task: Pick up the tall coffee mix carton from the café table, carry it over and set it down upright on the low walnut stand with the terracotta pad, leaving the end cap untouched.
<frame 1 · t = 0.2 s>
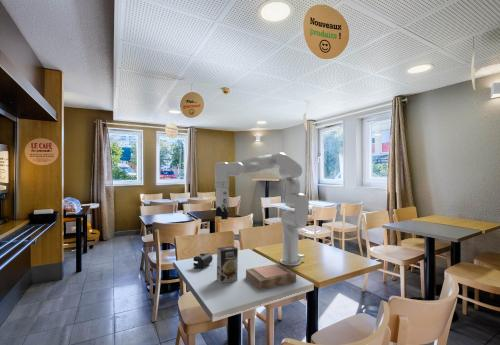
hand: (221, 217, 132), 31 cm above the table, tool pointing down, fingers open, 9 cm apart
stand: (270, 279, 127), on the table
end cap: (203, 267, 146), on the table
coffee box: (227, 280, 127), on the table
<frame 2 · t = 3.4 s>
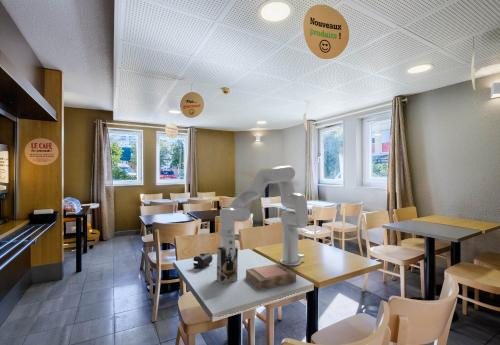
hand: (227, 267, 127), 6 cm above the table, tool pointing down, fingers closed on coffee box, 6 cm apart
coffee box: (227, 280, 127), on the table, touching gripper
everything else where it was.
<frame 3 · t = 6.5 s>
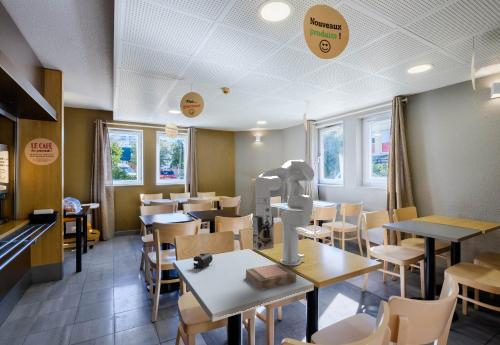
hand: (263, 235, 128), 22 cm above the table, tool pointing down, fingers closed on coffee box, 6 cm apart
coffee box: (263, 248, 128), point 16 cm above the table, touching gripper
everything else where it was.
when the fingers open (12 cm above the table, at t = 9.9 s): coffee box drops 1 cm, resting on stand.
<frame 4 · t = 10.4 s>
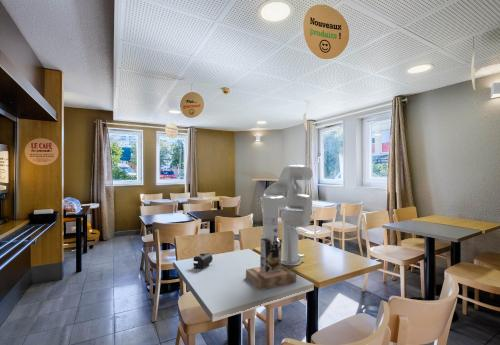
hand: (270, 254, 128), 13 cm above the table, tool pointing down, fingers open, 9 cm apart
coffee box: (270, 271, 128), point 4 cm above the table, touching stand
everything else where it was.
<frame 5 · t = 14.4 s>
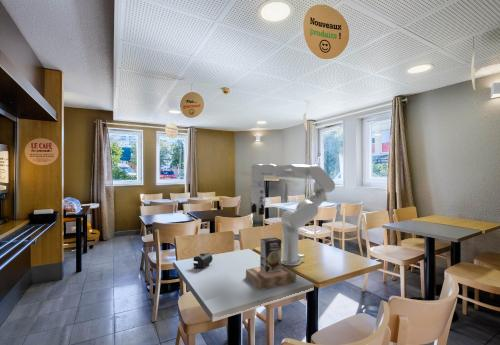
hand: (257, 213, 150), 30 cm above the table, tool pointing down, fingers open, 9 cm apart
nothing on the table moved.
at the end: coffee box inside the target area on the stand (0.2 cm from its centre), point 4.1 cm above the stand's base; coffee box tilted 0°; the gripper is holding nothing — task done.
